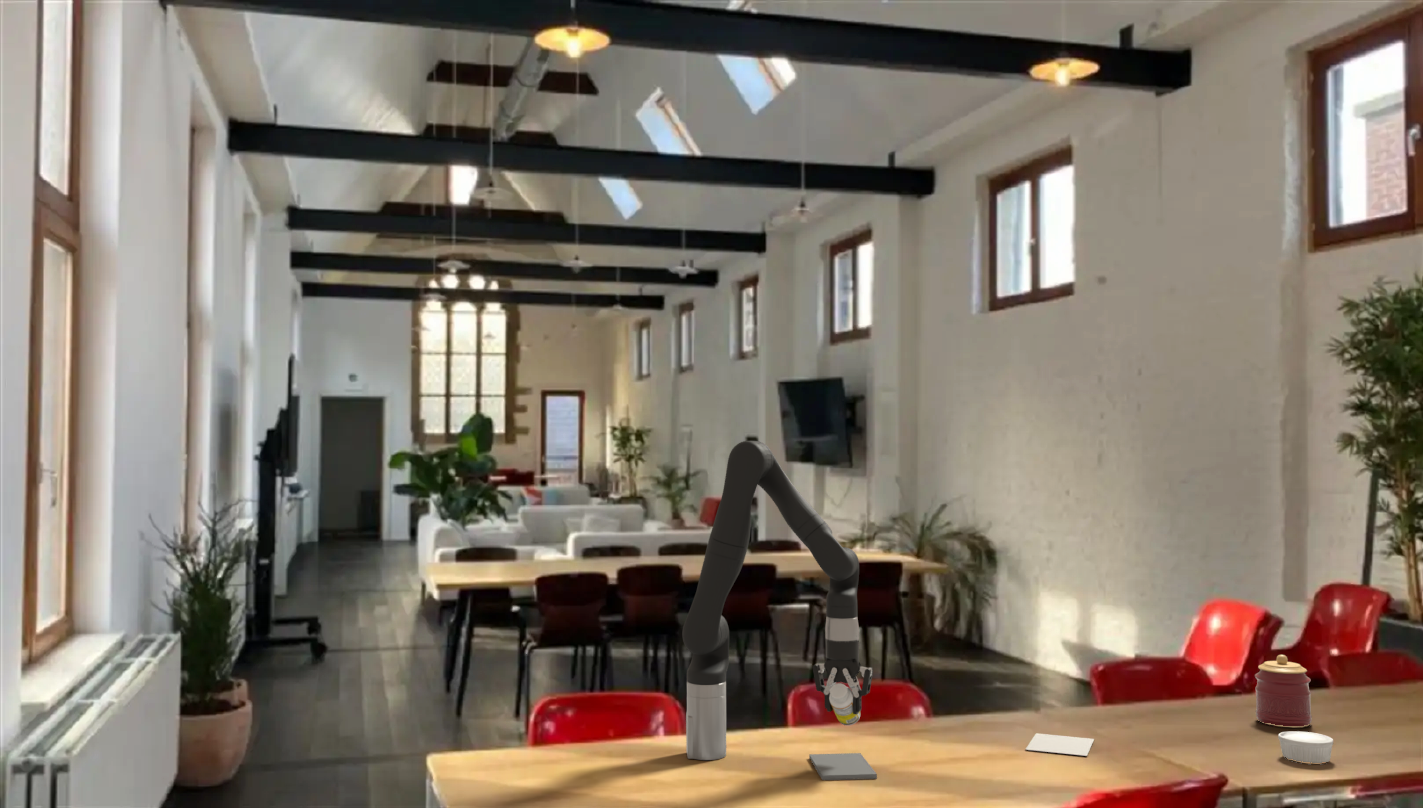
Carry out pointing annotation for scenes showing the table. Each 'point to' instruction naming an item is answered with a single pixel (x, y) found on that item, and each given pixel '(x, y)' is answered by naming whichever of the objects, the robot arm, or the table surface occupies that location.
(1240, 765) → the table surface
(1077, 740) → the paper stack
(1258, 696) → the canister
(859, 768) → the mat
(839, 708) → the supplement bottle
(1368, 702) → the table surface
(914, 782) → the table surface
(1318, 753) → the ramekin
